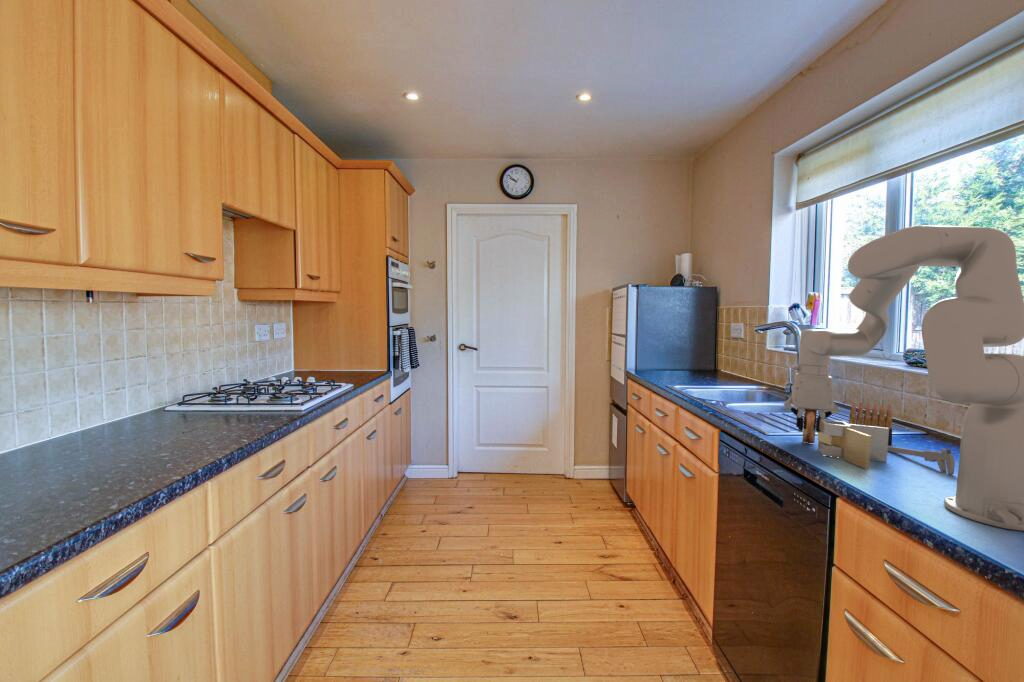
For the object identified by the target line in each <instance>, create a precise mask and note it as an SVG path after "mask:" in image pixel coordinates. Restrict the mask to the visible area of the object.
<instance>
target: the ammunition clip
mask: <svg viewBox="0 0 1024 682" xmlns="http://www.w3.org/2000/svg"><path fill="white" fill-rule="evenodd" d="M870 406H871V405H870V404H869V403H867V404H866V405H865V408H864V405H863V403H862V402H860V403H859V404H858V407H857V408H856V403H855V402H854V401H853V402H852V404H851V407H850V414H849V419H848V424H856V425H866V426H875V427H885V428H889V436H888V446H893V409H892V406H891V404H889V405H888V407H887V409H886V411H885V405H884V404H881V406H880V409H879V413H878V405H877V404H876V403H875V404H874V405H873V407H872V411H871V407H870ZM864 409H865V410H864ZM856 411H857V412H856ZM885 412H886V415H885Z"/></svg>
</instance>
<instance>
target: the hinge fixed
mask: <svg viewBox="0 0 1024 682" xmlns="http://www.w3.org/2000/svg"><path fill="white" fill-rule="evenodd" d="M846 428H850V429H853V430H856V431H859V432H862V433H864V434H867V435H870V436H871V447H870V460H869V461H876V462H881V463H887V461H888V458H887V457H888V451H887V448H888V446H889V445H888V436H889V428H885V427H875V426H866V425H856V424H849V423H848V422H846V421H844V420H832V419H820V426H819V430H820V431H821V432H822V433H823V434H824V435H832V436H841V437H845V431H846ZM817 441H818V443H817V451H818V450H819V451H820V452H819V451H818V452H819V454H820V453H821V454H822V455H826V456H832V457H831V458H833V457H839V458H838V459H841V458H843V457H844V448H843V447H840V446H831V445H828V444H826V443H824V442H821V441H819V440H818V439H817ZM821 454H820V455H821ZM822 455H821V456H822ZM826 456H825V457H826Z"/></svg>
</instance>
